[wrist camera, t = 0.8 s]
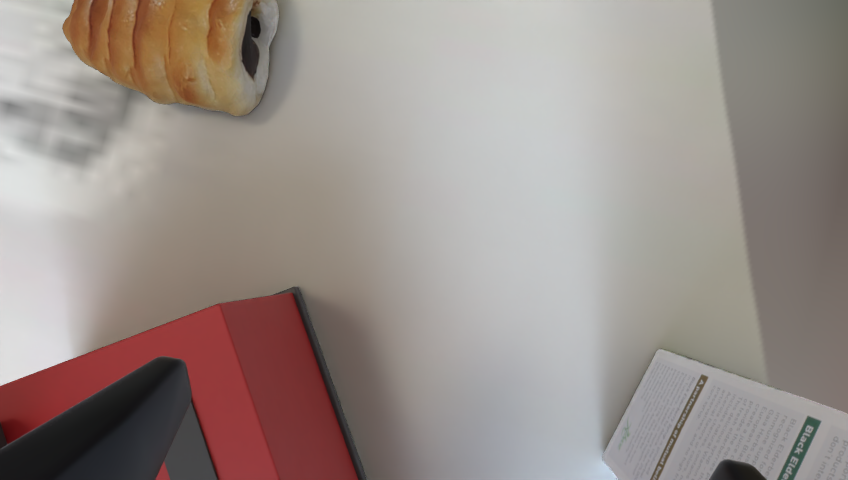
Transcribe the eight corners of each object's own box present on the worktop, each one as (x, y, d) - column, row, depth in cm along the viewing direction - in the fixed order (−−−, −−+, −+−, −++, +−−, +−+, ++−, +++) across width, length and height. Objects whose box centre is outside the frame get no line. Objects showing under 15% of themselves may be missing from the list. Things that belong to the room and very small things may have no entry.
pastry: (79, 98, 26) (13, 68, 22) (105, -36, 26) (45, -88, 22) (266, 125, 25) (232, 99, 21) (291, -12, 25) (262, -62, 22)
